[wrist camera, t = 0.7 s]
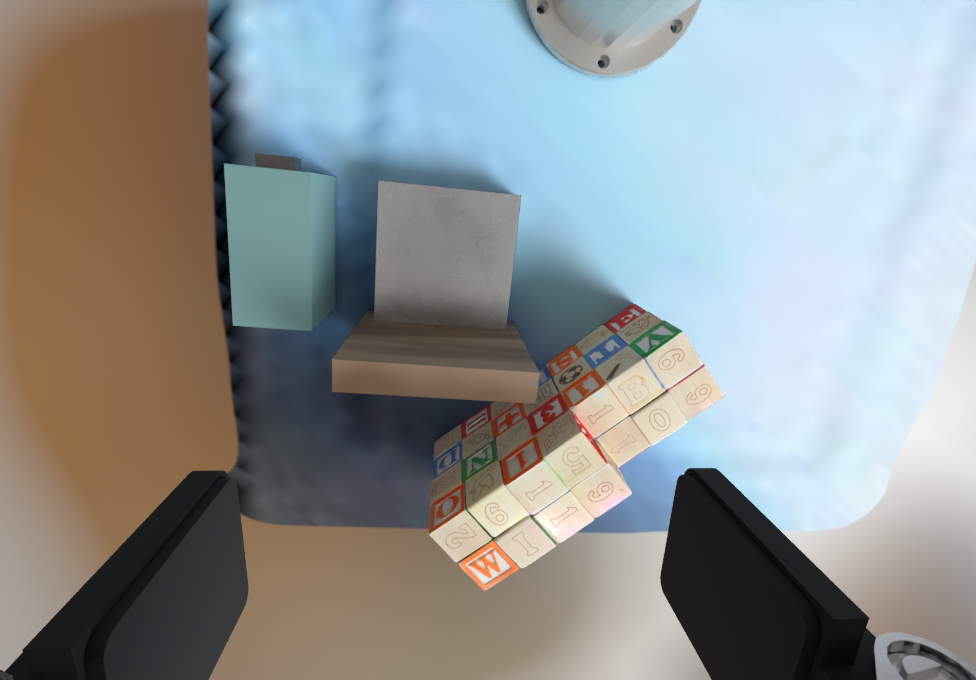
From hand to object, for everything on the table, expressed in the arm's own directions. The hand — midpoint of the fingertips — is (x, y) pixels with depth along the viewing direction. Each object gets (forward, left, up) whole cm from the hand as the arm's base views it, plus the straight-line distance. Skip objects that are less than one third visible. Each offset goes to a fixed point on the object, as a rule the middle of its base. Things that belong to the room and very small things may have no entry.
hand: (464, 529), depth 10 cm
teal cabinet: (-2, -12, -30) cm, 32 cm away
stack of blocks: (+10, +9, -30) cm, 33 cm away
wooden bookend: (-1, -1, -30) cm, 30 cm away
